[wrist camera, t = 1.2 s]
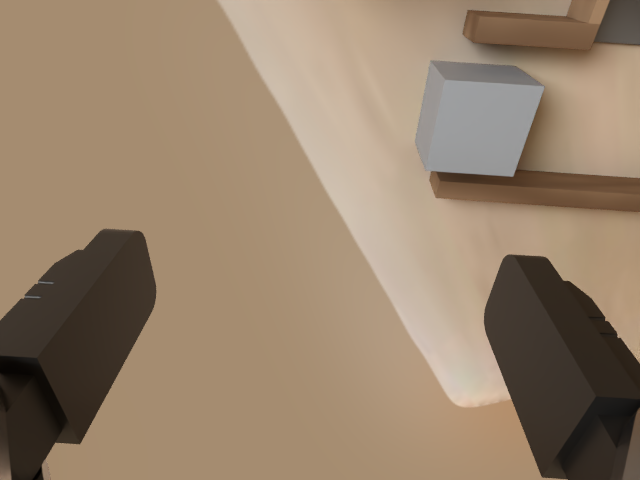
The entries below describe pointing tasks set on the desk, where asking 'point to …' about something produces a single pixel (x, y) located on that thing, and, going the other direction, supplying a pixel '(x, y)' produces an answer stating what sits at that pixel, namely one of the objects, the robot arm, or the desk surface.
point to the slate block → (475, 117)
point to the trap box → (555, 32)
